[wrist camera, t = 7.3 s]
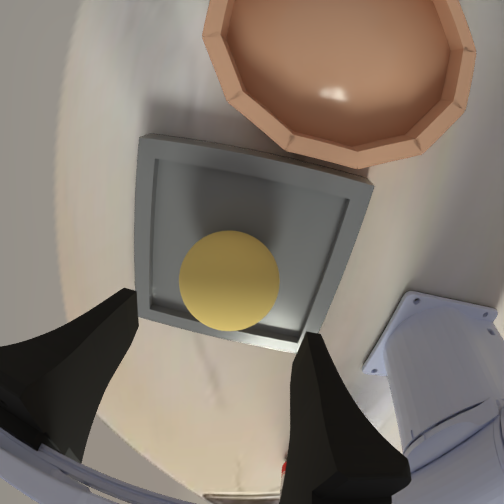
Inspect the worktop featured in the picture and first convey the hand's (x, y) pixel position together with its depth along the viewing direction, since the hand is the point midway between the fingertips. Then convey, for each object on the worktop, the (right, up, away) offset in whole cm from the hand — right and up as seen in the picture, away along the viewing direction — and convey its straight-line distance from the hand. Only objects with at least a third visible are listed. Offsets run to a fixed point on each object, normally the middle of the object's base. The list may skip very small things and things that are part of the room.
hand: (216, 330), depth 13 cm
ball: (+1, +3, +5) cm, 6 cm away
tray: (+1, +3, +6) cm, 7 cm away
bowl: (+6, +14, 0) cm, 15 cm away
